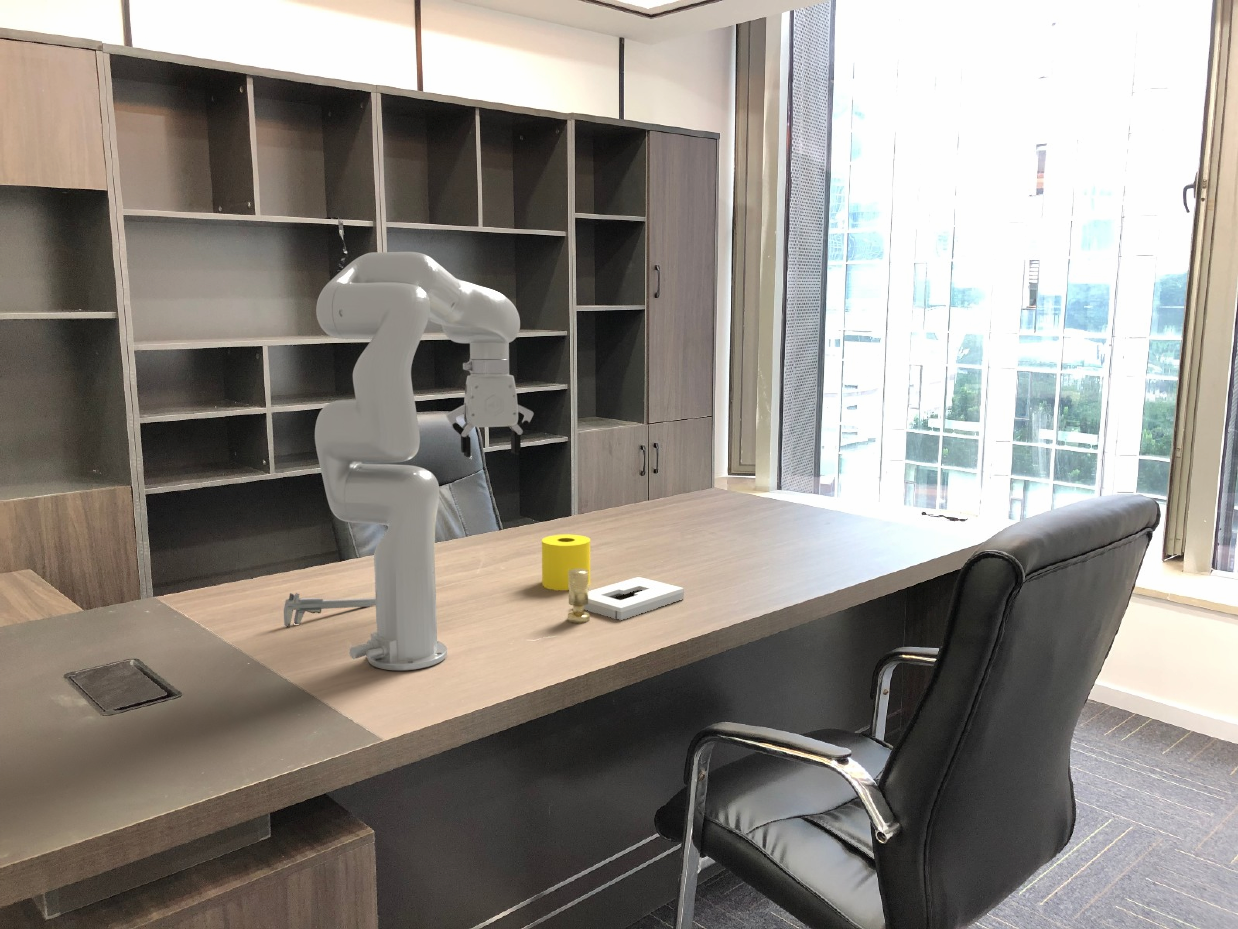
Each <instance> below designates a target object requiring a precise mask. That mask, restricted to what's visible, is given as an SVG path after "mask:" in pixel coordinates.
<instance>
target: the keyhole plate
mask: <svg viewBox="0 0 1238 929" xmlns="http://www.w3.org/2000/svg"><path fill="white" fill-rule="evenodd" d="M640 590H642V591H640ZM684 590H685V589H684V587H681V586H676V585H673V584H669V583H666V582H661V581H657V580H652V579H649V578H646V577H645V578H644V577H641V576H637V577H633V578H629V579H626V580H625V579H624V580H621V581H620V582H616V583H611V584H607V585H605V586H602V587H598V588H595V589H592V590H588V604H587V605H584V609H585V610H584V611H587V610H588V611H587V612H591V613H594V614H597V613H598V614H597V615H600V614H601V615H602V616H604V617H607V616H608V617H607V618H610V617H611V618H612V619H614V620H616V619H619V620H618V621H621V620H622V621H624V620H623V619H625V620H627V618H628V619H631V618H633V617H632V616H634V617H636V615H637V616H639V614H640V615H642V614H641V613H643V614H646V613H648V612H647V611H649V612H651V611H650V610H652V609H655V610H657V609H656V608H658V607H660V606H664V607H666V606H665V605H667V604H669V603H672V602H676V601H678V600H680V599H685V598H684V593H685V592H684ZM633 591H634V592H633ZM637 591H638V592H637ZM630 592H631V593H633V596H630V597H627V598H624V599H617V597H620V596H623V594H624V595H627V594H630ZM616 596H617V597H616ZM676 603H677V602H676ZM667 606H668V605H667ZM658 609H659V608H658ZM652 611H653V610H652ZM645 612H646V613H645ZM630 617H631V618H630Z"/></svg>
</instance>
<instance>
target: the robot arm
mask: <svg viewBox="0 0 1238 929" xmlns="http://www.w3.org/2000/svg"><path fill="white" fill-rule="evenodd" d="M315 309H316V310H315V313H316V319H317V322H318V324H319V326H320V328H321V329H322V331H324V333H326V335H328V336H329V337H332V338H335V339H341V340H370V342H368V344H367V346H365V349H364V350H362V353H360V356H359V357H358V358H357V361H356V362H355V365H354V367H353V371H352V384H353V390H354V396H355V400H354V399H353V400H351V399H350V400H349V399H348V400H347V399H346V400H345V399H344V400H335V401H332V402H329V403H327V404H325V406H324V407H322V408H321V410H320V411H319V413H318V416H317V419H316V421H315V428H314V444H315V447H316V448H315V449H316V454H317V459H318V462H319V468H320V472H321V475H322V481H323V485H324V490H325V495H326V499H327V502H328V505H329V506H328V507H329V508H330V510H331V513H332V514H333V515H334V516H335V517H336V518H337V519H338V520H340V521H343V522H347V523H357V524H374V525H383V526H384V525H385V526H387V530H386V531H385V533H384V535H382V537H381V538H380V540H379V541H378V543H377V545H376V546H375V550H374V554H373V566H374V588H375V589H374V590H375V591H374V592H375V594H374V595H375V598H376V605H375V616H376V617H375V618H376V620H375V621H376V622H375V623H376V632H373V633H370V640H367V641H366V642H365V643H364V644H363V643H362V644H357V645H353V646H351V647H350V648H349V654H350V655H349V656H350V657H351V659H353V660H355V659H358V658H362V657H366V658H367V661H368V663H369V664H370V665H371V666H373V667H375V668H378V669H382V670H387V671H411V670H412V671H413V670H419V669H425V668H428V667H431V666H434V665H437V664H439V663H441V662H442V661H444V659H446V657H447V655H448V648H447V645H445V643H443V642H442V641H439V640H438V625H437V624H438V623H437V621H438V620H437V594H436V593H437V588H436V586H437V584H436V555H435V553H436V552H435V550H436V549H435V548H436V546H435V543H436V541H435V540H436V539H435V538H436V535H435V534H436V521H437V515H438V509H439V503H440V502H439V501H440V486H439V485H440V484H439V481H438V478H436V476H435V475H434V473H433V472H431V471H429V469H426V468H423V467H420V466H416V465H411V464H410V465H409V464H394V463H402V462H406V461H409V460H411V459H413V458H414V457H415V456H416V455H417V453H418V452H419V449H420V442H421V438H420V437H421V436H420V425H419V421H418V414H417V409H416V408H417V407H416V401H415V396H414V390H413V382H412V364H413V360H414V356H415V354H416V351H417V349H418V346H419V344H420V342H421V339H422V336H423V334H424V331H425V330H426V329H427V328H426V327H427V325H428V322H429V321H430V322H432V323H434V324H437V325H441V328H442V331H443V333H444V335H445V336H446V337H447V338H448V339H449V340H451V341H452V342H453V343H458V344H469V354H470V355H469V361H467V362H463V363H462V370H465V371H469V373H470V375H467V377H466V381H465V389H464V399H463V400H464V402H463V405H460V406H459V407H457V408H455V409H453V410H452V411H450V412H448V413H447V414H446V418H447V421H448V422H449V424H450V426H451V428H452V429H453V430H454V431H455V432H456V433H457V434H458V435H459V436H460V452H461V453H463V456H465V457H466V458H471V455H472V454H471V453H472V451H471V449H472V446H471V442H472V441H471V437H470V433H471V431H472V430H473V429H474V428H495V427H496V428H497V427H498V428H499V427H509V428H510V429H511V431H512V433H511V434H510V452H511V454H513V455H515V456H516V455H517V456H519V451H521V448H522V446H521V442H522V441H521V440H522V439H521V437H522V434H523V433H524V431H525V430H526V429H527V428H528V427H529V425H530V422H531V420H532V418H533V416H534V412H533V411H532V410H531V409H528V408H527V407H525V406H522V405H520V404H518V395H517V394H518V393H517V388H516V381H515V376H514V375H512V374H510V348H509V347H510V344H509V343H512V342H513V341H514V340H515V339H516V338H517V337H518V334H519V333H520V329H521V320H520V314H519V311H518V310H517V308H516V306H515V305H514V303H513V302H512V301H511V300H510V299H509V298H508V297H506V295H504V294H502V293H501V292H498V291H496V290H495V289H491V288H488V287H485V286H482V285H478V284H475V283H473V282H469V281H465V280H462V279H459V278H456V277H455V276H454V275H453V274H451V273H450V272H449V271H447V269H445V268H444V267H443V266H442V265H440V264H439V263H438V262H437V261H436V260H434V258H432V257H431V256H429V255H427V254H425V253H421V252H416V251H395V252H394V251H388V252H379V251H378V252H373V251H371V252H368V253H365V254H363V255H361V256H360V255H359V256H358V257H357V258H355V259H354V260H353V261H351V262H350V263H349V264H347V265H346V266H345V267H344V268H343V269H342V270H341V271H339V272H338V273H337V274H336V275H335V276H334V277H332V279H331V280H329V281H328V282H327V284H326V285H325V286H324V287H323V288H322V290H321V291H320V294H319V296H318V298H317V303H316V308H315ZM519 413H521V414H522V415H523V419H522V420H521V421H520V422H518V421H519ZM462 414H463V420H464V424H463V425H462V426H461V425H460V424H459V423H458V422H457V418H458V417H459V416H462ZM518 423H519V424H518ZM373 463H374V464H373ZM375 463H376V464H375ZM377 463H379V464H377ZM380 463H383V464H380ZM388 463H390V464H388ZM392 463H393V464H392Z"/></svg>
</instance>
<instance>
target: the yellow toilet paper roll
mask: <svg viewBox="0 0 1238 929" xmlns="http://www.w3.org/2000/svg"><path fill="white" fill-rule="evenodd" d="M572 569H586V570H588V587H590V586H591V538H590V537H588V536H585V535H579V534H556V535H550V536H549V535H548V536H545V537H544V538H542V539H541V579H542V581H541V582H542V584H541V585H542V587H543V586H544V587H543V588H545V589H548V590H551V589H554V590H553V591H558V590H569V570H572ZM589 585H590V586H589Z"/></svg>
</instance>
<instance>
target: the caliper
mask: <svg viewBox="0 0 1238 929" xmlns="http://www.w3.org/2000/svg"><path fill="white" fill-rule="evenodd" d="M370 606H371V607H374V606H375V607H376V597H372V598H371V597H369V598H368V597H367V598H365V597H364V598H344V599H343V598H342V599H341V598H340V599H323V598H322V597H308V598H307V597H305V598H300V593H297V592H296V593H295V594H294V593H291V592H290V593H289V598H288V599H285V602H284V608H283V622H284V626H285V627H286V626H290V627H291V623H292V619H293V624H294V623H295V624H299V625H300V624H301V622H302V620H303V617H304V615H305V612H307V613H311V614H321V612H322V610H324V609H325V610H326V609H345V608H370ZM294 611H295V612H294ZM293 614H294V618H292V617H293Z"/></svg>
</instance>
